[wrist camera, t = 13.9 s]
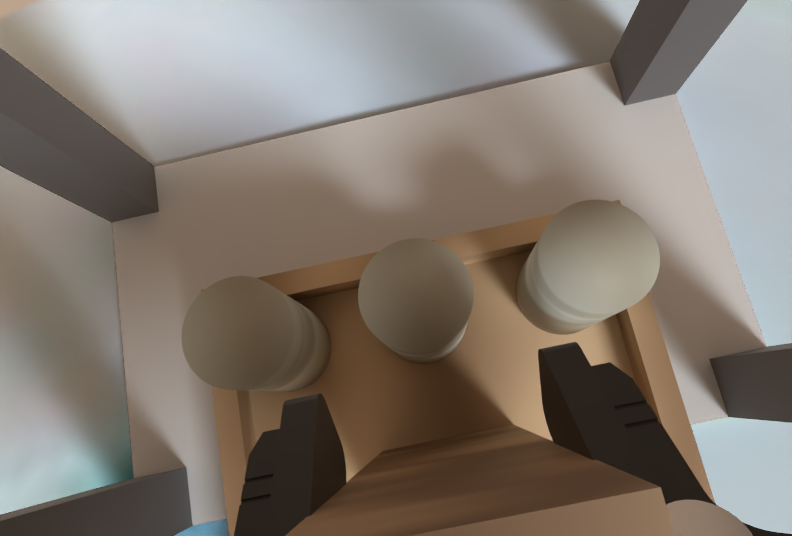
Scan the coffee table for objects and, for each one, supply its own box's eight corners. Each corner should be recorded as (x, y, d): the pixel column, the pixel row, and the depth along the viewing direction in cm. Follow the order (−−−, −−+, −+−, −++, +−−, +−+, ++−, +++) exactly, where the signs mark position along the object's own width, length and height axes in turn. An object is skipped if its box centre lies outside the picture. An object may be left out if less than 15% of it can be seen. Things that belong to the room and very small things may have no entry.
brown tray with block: (268, 623, 19) (-221, 1250, 5) (227, 301, 21) (-162, 132, 8) (696, 543, 18) (1477, 1001, 4) (599, 221, 21) (897, -115, 7)
